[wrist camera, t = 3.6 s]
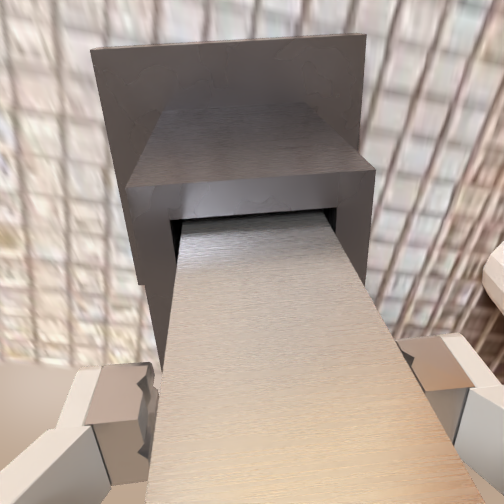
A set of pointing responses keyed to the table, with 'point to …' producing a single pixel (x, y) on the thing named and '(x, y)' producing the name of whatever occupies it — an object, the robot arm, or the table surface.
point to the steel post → (289, 379)
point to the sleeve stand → (233, 142)
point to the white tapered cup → (495, 277)
